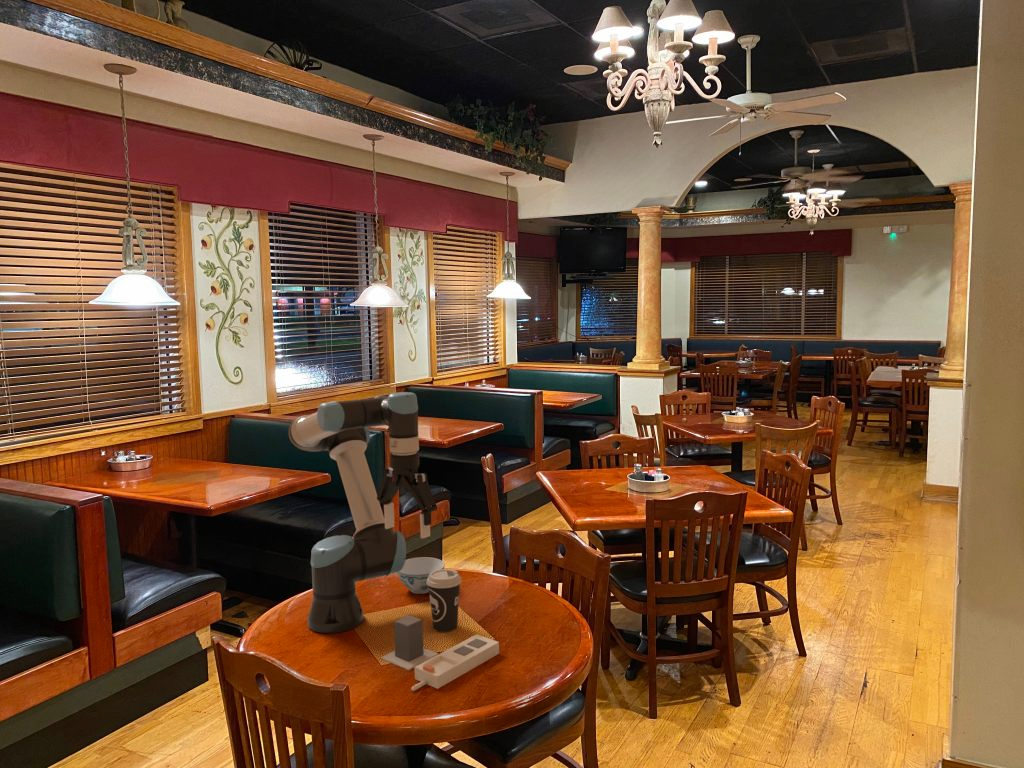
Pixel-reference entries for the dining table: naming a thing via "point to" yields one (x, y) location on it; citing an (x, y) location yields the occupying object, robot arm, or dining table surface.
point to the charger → (408, 638)
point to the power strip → (455, 661)
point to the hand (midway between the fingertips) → (407, 532)
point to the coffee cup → (444, 598)
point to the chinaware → (418, 573)
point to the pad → (411, 664)
